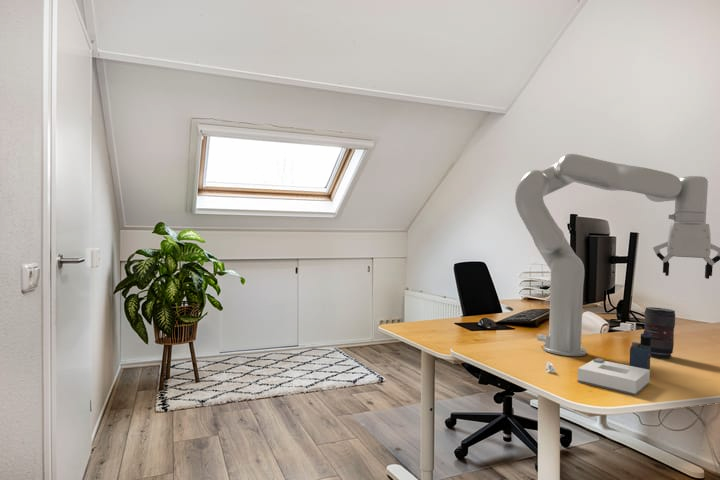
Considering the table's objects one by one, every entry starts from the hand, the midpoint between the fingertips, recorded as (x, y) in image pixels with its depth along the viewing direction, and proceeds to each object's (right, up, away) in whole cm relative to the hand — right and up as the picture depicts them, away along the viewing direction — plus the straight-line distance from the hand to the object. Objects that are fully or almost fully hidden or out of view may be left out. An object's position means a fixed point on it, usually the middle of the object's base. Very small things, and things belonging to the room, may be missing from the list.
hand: (686, 276), depth 134 cm
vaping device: (-20, -26, -10) cm, 34 cm away
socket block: (-32, -26, -18) cm, 44 cm away
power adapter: (-43, -26, -10) cm, 51 cm away
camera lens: (-2, -26, +9) cm, 28 cm away
